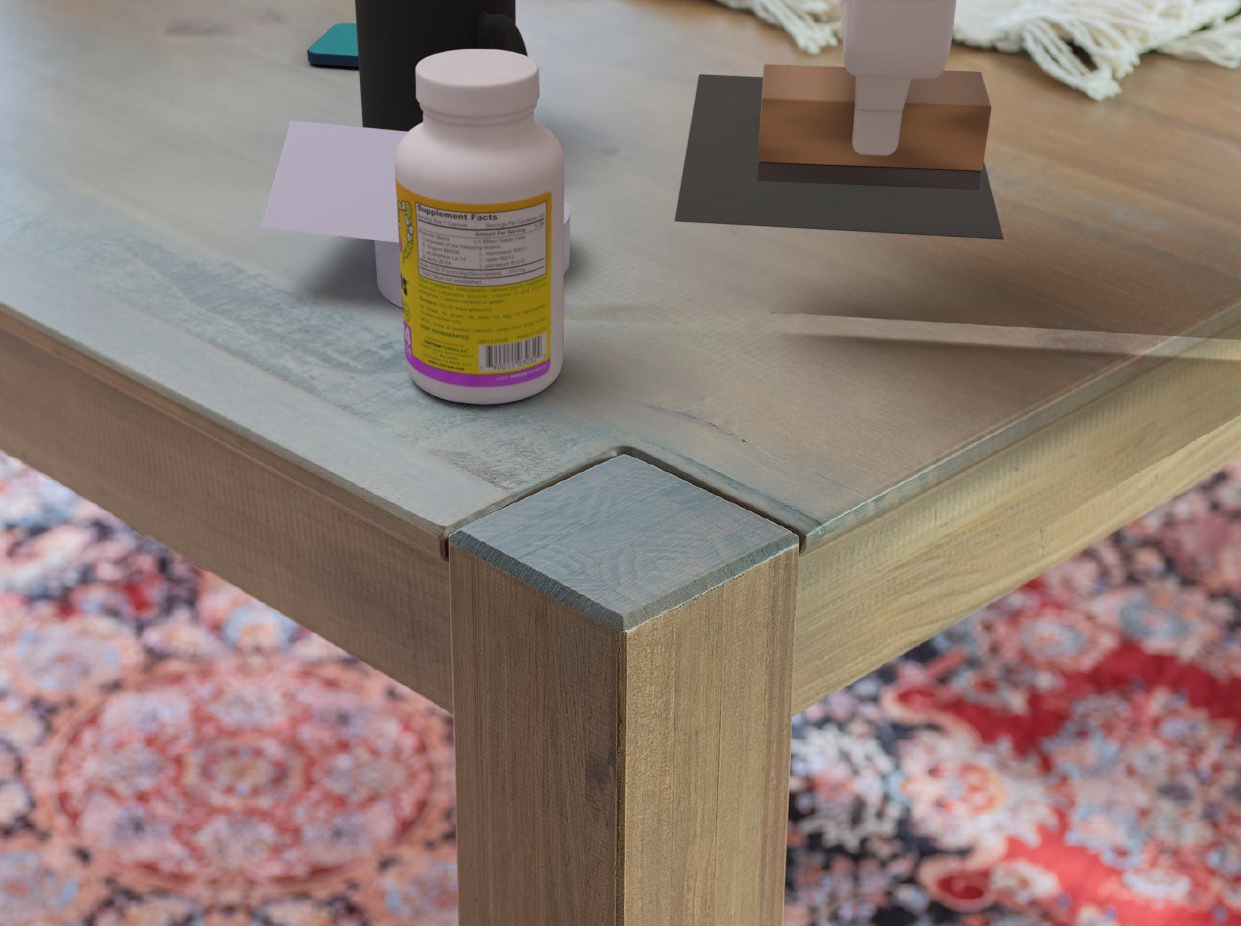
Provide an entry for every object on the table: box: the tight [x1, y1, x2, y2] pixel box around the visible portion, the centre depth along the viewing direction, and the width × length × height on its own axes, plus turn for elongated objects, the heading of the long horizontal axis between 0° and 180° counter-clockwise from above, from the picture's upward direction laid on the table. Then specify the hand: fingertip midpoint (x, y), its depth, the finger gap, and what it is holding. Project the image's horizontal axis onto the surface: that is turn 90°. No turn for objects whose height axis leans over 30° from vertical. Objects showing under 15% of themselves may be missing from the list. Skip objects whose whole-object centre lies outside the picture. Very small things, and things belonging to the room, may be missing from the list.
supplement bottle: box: [395, 49, 565, 405], centre depth 67 cm, size 7×7×13 cm
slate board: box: [674, 73, 1004, 240], centre depth 92 cm, size 16×24×1 cm, turn 174°
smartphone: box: [306, 22, 359, 68], centre depth 107 cm, size 7×1×15 cm
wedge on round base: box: [259, 120, 571, 309], centre depth 77 cm, size 9×7×13 cm
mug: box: [354, 0, 529, 132], centre depth 88 cm, size 8×12×10 cm
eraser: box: [757, 63, 992, 190], centre depth 69 cm, size 9×5×3 cm, turn 84°
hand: (870, 124), depth 69 cm, fingers closed on eraser, 4 cm apart
